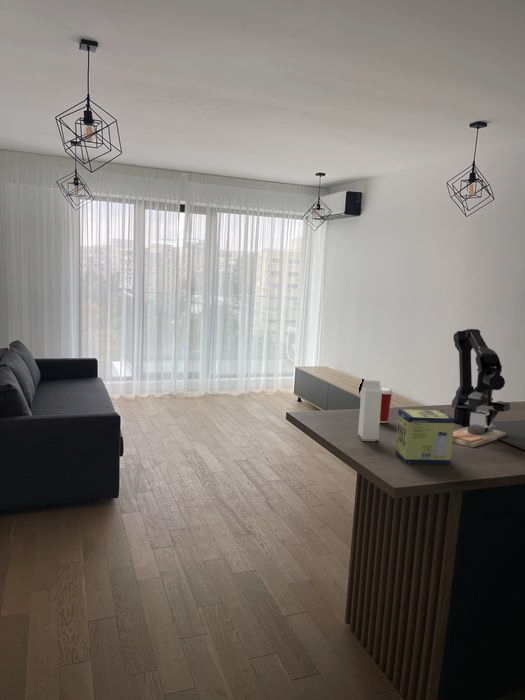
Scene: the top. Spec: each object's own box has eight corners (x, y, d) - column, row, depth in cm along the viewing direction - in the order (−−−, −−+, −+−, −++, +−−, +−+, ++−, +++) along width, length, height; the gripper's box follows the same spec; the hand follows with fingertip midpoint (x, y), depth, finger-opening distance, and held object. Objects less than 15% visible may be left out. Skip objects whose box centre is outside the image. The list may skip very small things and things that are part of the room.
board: (440, 438, 201) (440, 433, 201) (474, 428, 218) (474, 423, 218) (472, 447, 192) (473, 441, 191) (505, 436, 209) (506, 431, 208)
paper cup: (390, 420, 224) (393, 388, 222) (389, 425, 217) (391, 391, 215) (372, 418, 227) (374, 386, 225) (369, 422, 220) (372, 389, 218)
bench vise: (467, 432, 206) (469, 414, 205) (484, 427, 215) (486, 410, 214) (479, 435, 203) (480, 417, 202) (495, 430, 212) (497, 412, 211)
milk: (357, 437, 199) (361, 378, 196) (373, 437, 199) (377, 379, 196) (362, 442, 193) (366, 382, 190) (378, 442, 193) (382, 382, 190)
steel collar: (469, 424, 208) (470, 412, 207) (477, 422, 212) (478, 410, 211) (484, 428, 204) (485, 415, 203) (491, 426, 208) (493, 413, 207)
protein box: (394, 453, 181) (397, 408, 179) (438, 454, 182) (442, 410, 180) (404, 464, 171) (408, 416, 169) (451, 464, 172) (455, 418, 170)
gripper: (451, 382, 207) (448, 421, 209) (499, 391, 193) (494, 433, 195) (466, 379, 215) (462, 417, 217) (512, 388, 201) (508, 428, 203)
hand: (480, 424), depth 208 cm, fingers closed on steel collar, 6 cm apart
